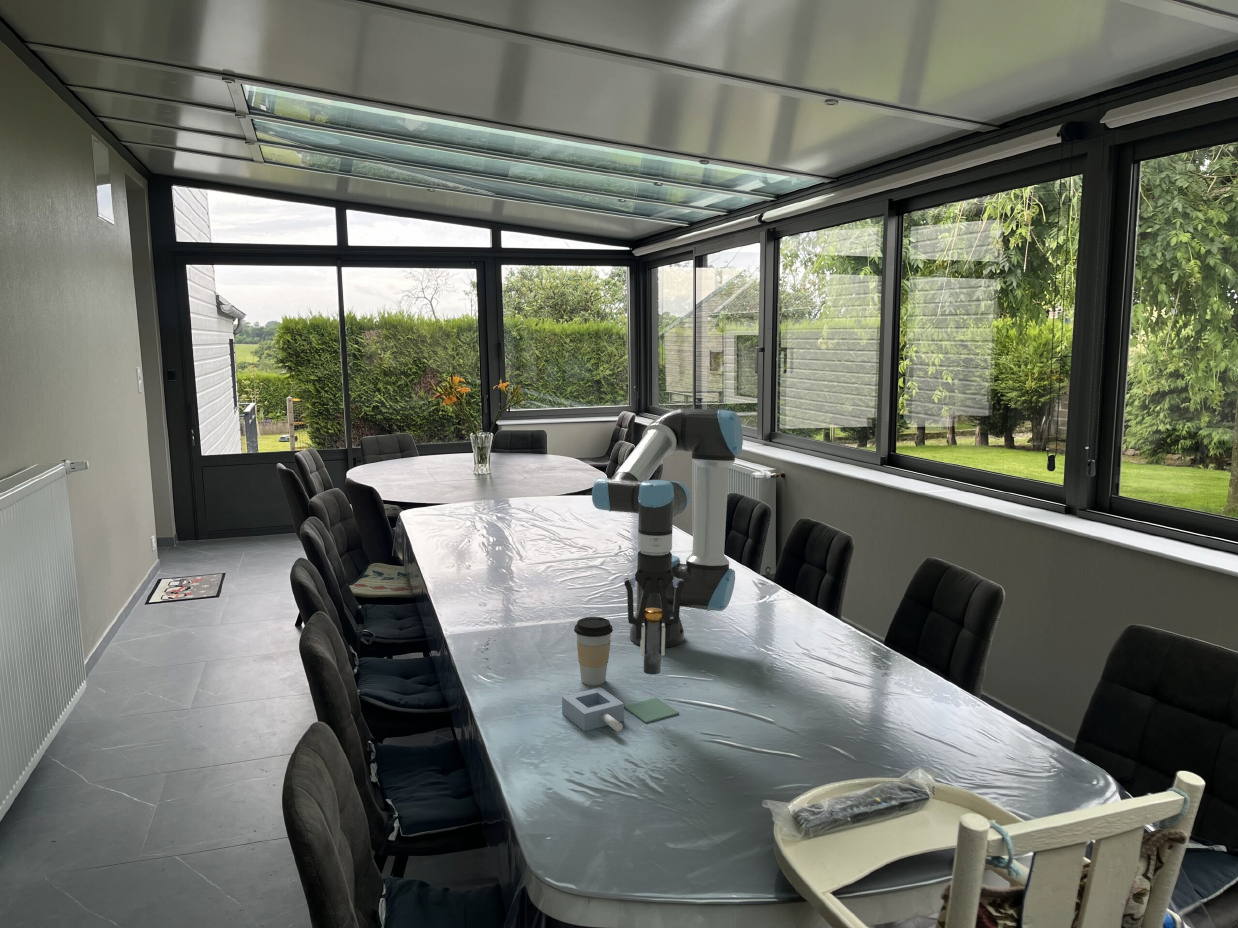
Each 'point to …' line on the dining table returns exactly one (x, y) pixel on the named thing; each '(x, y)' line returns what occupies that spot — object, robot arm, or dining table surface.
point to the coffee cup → (593, 648)
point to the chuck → (593, 709)
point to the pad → (651, 710)
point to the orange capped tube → (653, 640)
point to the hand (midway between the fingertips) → (652, 652)
